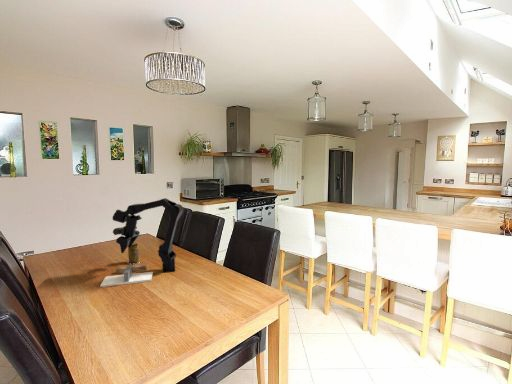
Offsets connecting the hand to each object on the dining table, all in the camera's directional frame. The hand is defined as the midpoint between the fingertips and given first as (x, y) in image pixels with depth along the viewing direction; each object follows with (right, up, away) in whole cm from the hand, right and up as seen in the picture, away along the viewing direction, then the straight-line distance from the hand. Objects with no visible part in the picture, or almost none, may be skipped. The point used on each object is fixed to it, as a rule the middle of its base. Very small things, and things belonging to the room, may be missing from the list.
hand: (125, 250), depth 162 cm
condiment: (-1, -11, +12) cm, 16 cm away
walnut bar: (+5, -12, -2) cm, 13 cm away
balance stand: (+8, -13, -14) cm, 21 cm away
